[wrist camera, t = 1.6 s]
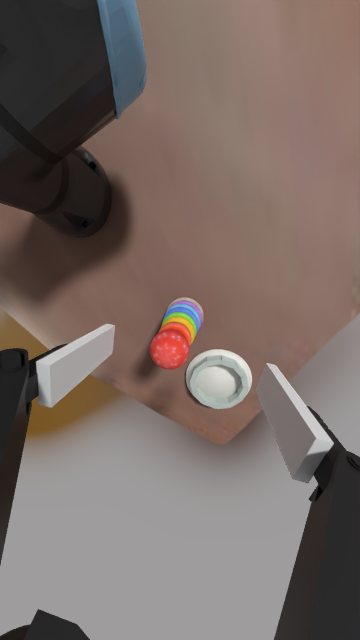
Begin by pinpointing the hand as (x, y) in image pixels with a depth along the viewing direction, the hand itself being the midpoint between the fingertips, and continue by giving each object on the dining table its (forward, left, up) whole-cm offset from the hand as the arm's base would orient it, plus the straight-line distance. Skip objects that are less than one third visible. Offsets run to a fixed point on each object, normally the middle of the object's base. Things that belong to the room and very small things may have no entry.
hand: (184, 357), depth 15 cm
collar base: (+10, -15, -23) cm, 29 cm away
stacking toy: (-2, -3, -23) cm, 23 cm away
